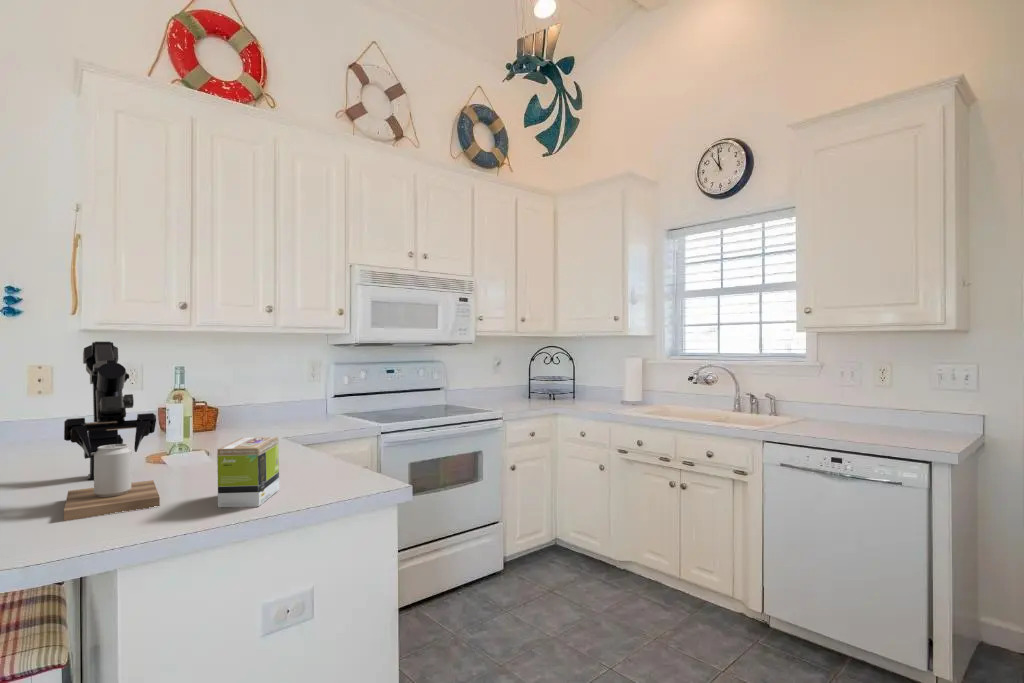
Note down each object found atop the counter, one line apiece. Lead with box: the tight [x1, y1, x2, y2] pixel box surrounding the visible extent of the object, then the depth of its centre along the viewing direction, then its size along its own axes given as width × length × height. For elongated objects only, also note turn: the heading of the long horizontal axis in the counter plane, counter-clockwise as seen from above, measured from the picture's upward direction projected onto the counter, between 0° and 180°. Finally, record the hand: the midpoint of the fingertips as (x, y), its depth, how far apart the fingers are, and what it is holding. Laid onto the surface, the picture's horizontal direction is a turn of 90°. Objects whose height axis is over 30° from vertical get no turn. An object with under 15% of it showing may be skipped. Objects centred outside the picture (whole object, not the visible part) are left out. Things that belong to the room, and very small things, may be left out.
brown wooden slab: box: [63, 479, 161, 522], centre depth 135 cm, size 20×18×3 cm
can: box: [93, 443, 132, 497], centre depth 135 cm, size 8×8×12 cm
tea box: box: [216, 436, 280, 508], centre depth 139 cm, size 15×10×15 cm, turn 5°
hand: (113, 453), depth 135 cm, fingers open, 9 cm apart
